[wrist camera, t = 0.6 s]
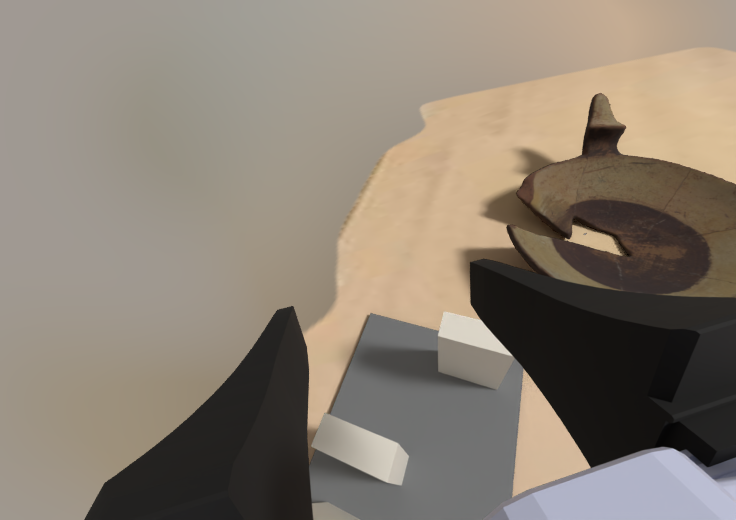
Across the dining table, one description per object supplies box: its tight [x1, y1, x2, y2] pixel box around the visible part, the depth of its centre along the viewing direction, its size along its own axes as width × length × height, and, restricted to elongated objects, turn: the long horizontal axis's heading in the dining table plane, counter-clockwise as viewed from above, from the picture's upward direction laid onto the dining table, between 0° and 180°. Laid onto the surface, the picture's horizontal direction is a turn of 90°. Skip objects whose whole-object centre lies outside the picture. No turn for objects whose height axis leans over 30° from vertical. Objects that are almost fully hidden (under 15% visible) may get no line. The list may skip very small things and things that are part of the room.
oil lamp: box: [506, 93, 736, 297], centre depth 30 cm, size 22×30×8 cm
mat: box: [309, 313, 523, 520], centre depth 22 cm, size 28×15×1 cm, turn 159°
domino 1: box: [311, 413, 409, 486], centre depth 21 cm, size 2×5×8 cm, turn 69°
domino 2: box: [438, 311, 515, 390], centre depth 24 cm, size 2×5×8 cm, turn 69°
